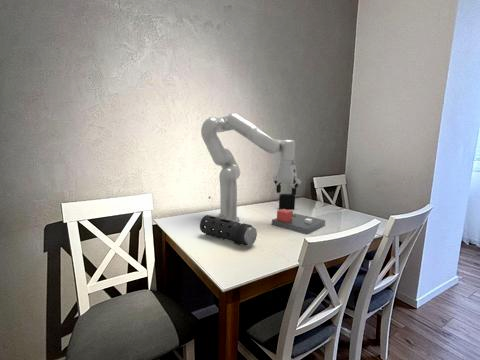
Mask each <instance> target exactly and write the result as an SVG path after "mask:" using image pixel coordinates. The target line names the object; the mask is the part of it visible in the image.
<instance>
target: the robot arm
mask: <svg viewBox="0 0 480 360" xmlns="http://www.w3.org/2000/svg"><path fill="white" fill-rule="evenodd" d="M228 131H235V132H236V133H238V134H239V135H241V136H242V137H244V138H246V140H248V141H249V142H251V143H253V144H254V145H255V146H257V148H260V149H261V150H263V151H265V152H266V153H268V154H270V155H273V154H277V153H280V158H279V159H280V160H279V165H278V167H277V169H278V170H277V175H275V176H273V177H272V179H273V183H274V184H275V186H276V193H277V194H281V192H282V191H281V190H282V185H281V184H283V185H290V186H291V187H292V188H291V194H292V196H294V195H295V196H296V195H297V188H298V187H299V186H300V184H301V183H302V180H301V179H299V178H298V177H297V176H298V174H297V173H298V172H297V166H296V164H297V161H296V160H295V153H296V152H295V151H296V142H295V140H294V139H283V140H282V139H276V138H272V137H271V136H269V135H268V134H266V133H265V132H263V131H262V130H261V129H260V128H259V127H258V126H257V125H256V124H255V123H253V122H251V121H250V120H248V119H246V118H245V117H243V115H241V114H240V113H236V112H231V113H229V114H228V115H226V116H219V117H216V116H211V117H208V118H207V119H205V120H204V122H203V124H202V125H201V130H200V133H201V137H202V140H203V143H204V144H205V147H206V149H207V150H208V152H209V155H210V157H211V159H212V161H213V163H214V164H215V165H217V166H219V167H221V170H220V172H219V175H218V176H219V177H218V179H219V188H220V189H219V191H220V194H219V195H220V198H219V199H220V200H219V201H220V202H219V203H220V205H219V207H220V213H218V215H217V216H215V217H218V218H222V219H226V220H230V221H234V222H238V223H239V222H240V217H239V216H237V215H238V210H237V209H238V185H237V180H238V179H239V178H240V175H241V169H240V167H239V165H238V163H237V160H236V159H235V157H234V155H233V153H232V152H231V150H229V148H225V147H224V145H223V144H222V141H221V140H220V139H221V138H219V136H218V134H219V133H223V132H224V133H225V132H228Z"/></svg>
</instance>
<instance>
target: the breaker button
mask: <svg viewBox="0 0 480 360" xmlns="http://www.w3.org/2000/svg"><path fill="white" fill-rule="evenodd" d="M305 223H309V224H310V223H312V219H308V218H307V219H305Z"/></svg>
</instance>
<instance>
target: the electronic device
mask: <svg viewBox="0 0 480 360" xmlns="http://www.w3.org/2000/svg"><path fill="white" fill-rule="evenodd" d="M278 195H279V196H278V197H279V198H278V208H279V210H281V209H286V210H291V211H294V210H295V207H296V206H295V205H296V195H294V196H292V193H278Z"/></svg>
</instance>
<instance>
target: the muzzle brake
mask: <svg viewBox="0 0 480 360" xmlns="http://www.w3.org/2000/svg"><path fill="white" fill-rule="evenodd" d="M199 230H200V232H201V233H203V234H205V235H207V236H209V237H213V238H216V239H220V240H224V241H225V240H226V241H229V242H233V244H235V245H237V246H240V245H242V246H244V247H247V246H253V245H254V243H255V242H256V241H257V238H258V237H257V236H258V231H257V229H256V228H255V227H254V226H253V225H251V224H248V223H244V222H243V223H241V222H239V221H238V222H234V221H230V220H226V219H222V218H218V217H216V216H214V215H210V214H209V215H208V214H206V215H204V216H203V217H202V218H201V219H200V221H199Z"/></svg>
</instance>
